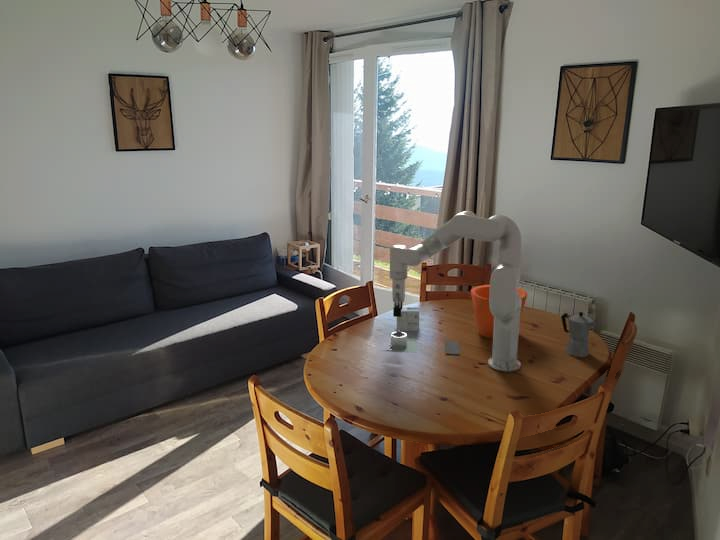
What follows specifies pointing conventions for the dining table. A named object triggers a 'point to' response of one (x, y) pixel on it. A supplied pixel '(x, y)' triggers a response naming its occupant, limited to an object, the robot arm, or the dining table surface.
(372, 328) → the dining table surface
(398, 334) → the peg stand
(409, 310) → the light bulb box
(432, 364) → the dining table surface
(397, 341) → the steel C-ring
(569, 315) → the coffeepot
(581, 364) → the dining table surface
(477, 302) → the flowerpot
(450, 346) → the charcoal mat
